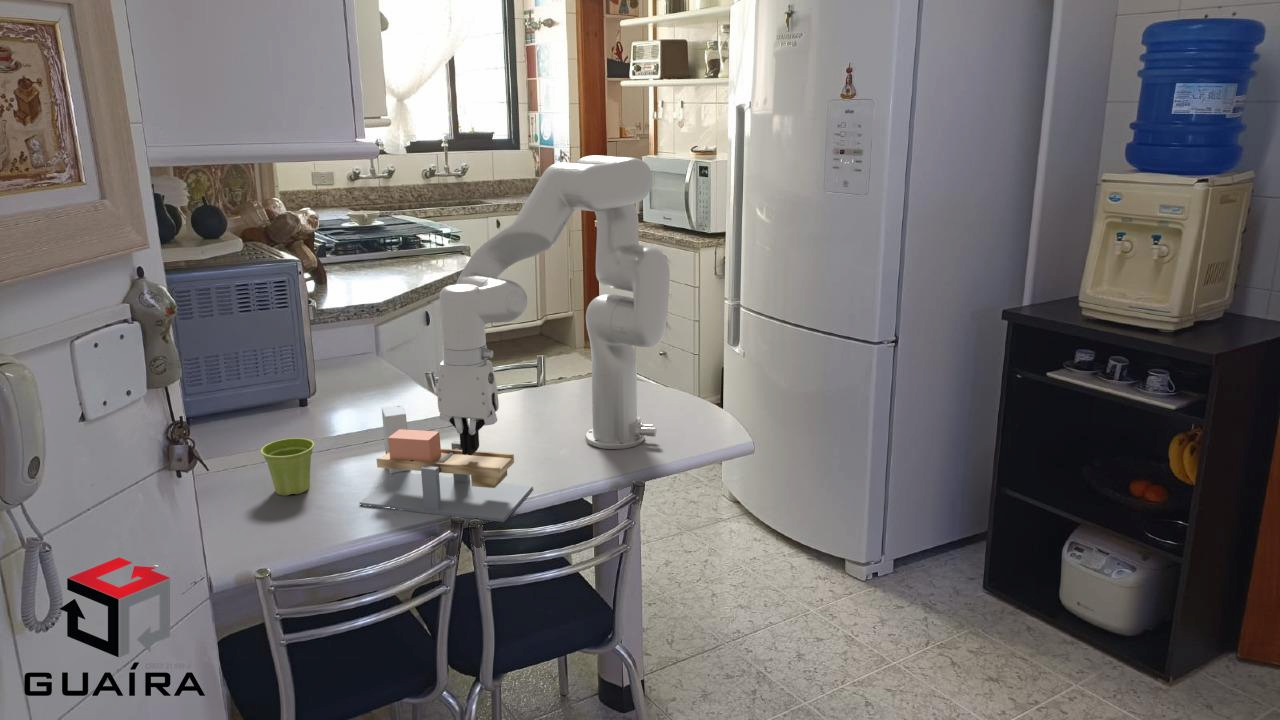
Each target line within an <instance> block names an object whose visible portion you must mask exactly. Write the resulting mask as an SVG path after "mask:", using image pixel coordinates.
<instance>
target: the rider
mask: <svg viewBox="0 0 1280 720" xmlns="http://www.w3.org/2000/svg"><path fill="white" fill-rule="evenodd" d="M388 444H389V453H390V459H399V460H414V461H425V462H433V461H434V460H435V459H437V458H438V457H439V456H440V455H441V449H442V448H441V446H442V445H441V435H440V431H436V430H435V431H433V430H432V431H431V430H417V429H407V430H403V429H399V430H398V431H396V432H395V433H394V434H392V435H391V436H390V437H388Z"/></svg>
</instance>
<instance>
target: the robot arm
mask: <svg viewBox="0 0 1280 720" xmlns="http://www.w3.org/2000/svg"><path fill="white" fill-rule="evenodd" d="M652 186H653V174H652V170H651V168H650V166H649V165H648V163H646V162H645V161H644V160H642V159H640V158H636V157H629V156H627V157H626V156H613V155H612V156H611V155H597V154H596V155H587V156H582V157H581V158H580V159H578V160H577V161H576V162H575V163H574V162H556V163H554V164H550V165H549V166H548V167H547V168H546V169H545V170H544V171H543V173H542V175H541V176H540V177H539V179H538V181H537V182H536V184H535V186H534V188H533V189H532V191H531V193H530V194H529V196H528V197H527V199H526V201H525V203H524V204H523V206H522V208H521V209H520V211H519V212H518V214H517V215H516V217H515V219H514V220H513V222H511V223H510V224H509V225H508V226H506V227H505V228H503V229H501V230H500V231H499V232H497V233H496V234H495V235H494V236H492V237H491V238H489V239H488V240H487V241H486V242H484V243H483V244H481V246H480V247H479V248H478V249H476V251H475V252H474V253H473V254H472V255H471V257H470V258H469V260H467V263H466V265H465V266H464V268H463V270H462V271H461V273H460V275H459V277H458V279H457V281H456V283H454V284H449V285H447V286H444V287H442V289H441V290H440V292H439V300H438V301H439V313H440V315H439V316H440V330H441V342H442V343H441V344H442V347H441V348H442V361H440V363H439V364H440V365H439V368H438V377H437V395H436V396H437V409H438V412H439V417H438V418H439V420H441V421H444V422H445V423H446V422H447V423H450V424H451V425H452V427H454V428H455V429H456V432H457V434H458V435H459V442H460V447H461V448H462V454H463V455H466V454H468V455H472V454H473V453H475V452H476V451H478V449H479V448H480V434H479V433H480V432H479V431H480V430H481V429H482V428H483V427H484V426H492V425H495V424H496V423H497V422H498V417H497V413H496V412H498V410H499V405H500V403H499V393H498V384H497V379H496V375H495V371H494V367H493V363H492V361H491V360H488V359H492V358H494V350H490V349H488V345H487V343H486V342H487V341H486V324H494V323H509V322H512V321H515V320H517V319H518V318H519V317H521V316H522V315H523V313H524V312H525V311H526V308H527V305H528V296H527V292H526V290H525V289H524V288H523V286H522V285H521V284H519V283H518V282H515V281H513V280H509V279H505V278H500V275H501V274H503V272H504V271H505V270H508V268H509V267H511V266H513V265H514V264H516V263H518V262H521V261H523V260H526V259H530V258H532V257H533V258H534V257H535V256H538V255H541V254H543V253H546V252H547V251H549V250H551V249H552V248H553V247H554V246H555V245H556V243H557V240H558V239H559V236H561V234H562V233H563V231H564V229H565V227H566V225H567V224H568V221H570V220H569V219H571V217H572V216H573V213H574V212H575V211H589V212H594V214H595V218H596V248H595V249H596V250H595V277H596V279H597V281H598V282H599V283H600V284H601V285H603V286H605V287H607V288H611V289H613V290H614V289H616V290H620V291H626V292H630V293H631V292H632V293H633V297H630V296H626V295H625V296H624V295H618V294H614V293H613V294H611V293H609V294H608V293H607V294H605V293H604V294H601V295H598V296H596V297H594V298H593V299H592V300H591V301H590V303H589V304H588V306H587V307H586V308H587V309H586V311H585V312H586V313H585V323H586V330H587V334H588V339H589V344H590V345H589V346H590V355H591V402H592V404H591V405H592V407H591V408H592V410H591V411H592V413H591V414H592V428H590V429H588V431H587V432H585V441H586V442H587V443H588V444H589V445H591V446H593V447H596V448H600V449H606V450H622V449H629V448H634V447H636V446H638V445H640V444H641V443H643V441H644V440H645V436H646V437H651V438H656V436H657V427H654V424H649V423H647V424H644V423H643V422H641V421H642V418H641V416H638V390H637V389H638V383H637V382H638V380H637V378H638V373H637V372H638V367H637V366H638V364H637V363H638V362H637V360H638V359H637V355H636V352H635V349H634V347H640V348H644V349H646V348H647V349H648V348H653V347H655V346H657V345H659V343H660V342H661V341H662V339H663V338H664V335H665V332H666V328H667V324H668V323H667V322H668V321H667V320H668V312H669V311H668V309H669V295H670V281H671V280H670V279H671V278H670V277H671V272H670V265H669V262H668V260H667V259H668V258H667V257H666V255H665V254H664V253H663V251H661V250H660V249H659V248H656V247H653V246H650V245H649V246H648V245H643V244H641V245H640V241H639V237H640V235H639V232H640V231H639V229H640V227H639V226H640V225H639V215H638V211H637V208H636V205H635V204H637V203H640V202H641V201H643V200H644V199H645V198H646V197H647V196H648V194H649V192H650V191H651V189H652Z"/></svg>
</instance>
